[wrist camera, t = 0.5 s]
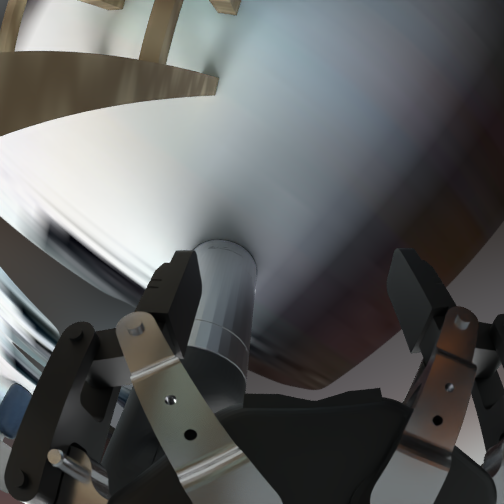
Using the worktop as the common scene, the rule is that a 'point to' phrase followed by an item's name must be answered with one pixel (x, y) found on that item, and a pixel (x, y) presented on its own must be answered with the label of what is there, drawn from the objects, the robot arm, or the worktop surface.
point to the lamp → (11, 422)
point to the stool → (93, 71)
